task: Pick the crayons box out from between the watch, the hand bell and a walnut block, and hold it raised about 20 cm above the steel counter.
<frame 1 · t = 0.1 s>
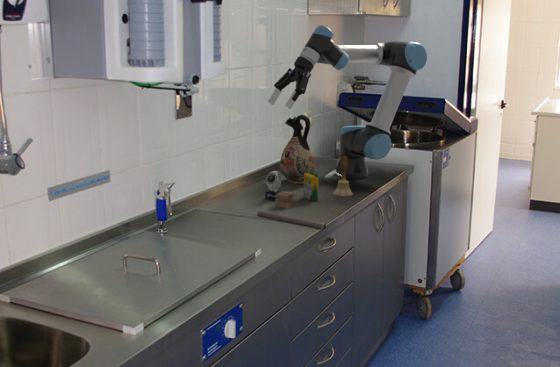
hand: (278, 105, 262), 36 cm above the worktop, tool tilted 35°, fingers open, 13 cm apart
watch: (274, 199, 262), on the worktop
metal rod: (290, 223, 232), on the worktop
ceramic jug: (298, 182, 290), on the worktop
hand bell: (342, 194, 271), on the worktop
walnut block: (284, 206, 251), on the worktop
crayon box: (310, 199, 262), on the worktop
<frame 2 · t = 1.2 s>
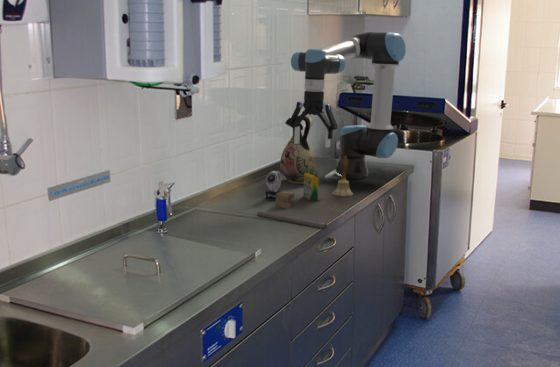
hand: (312, 145, 257), 22 cm above the worktop, tool pointing down, fingers open, 13 cm apart
nothing on the worktop moved.
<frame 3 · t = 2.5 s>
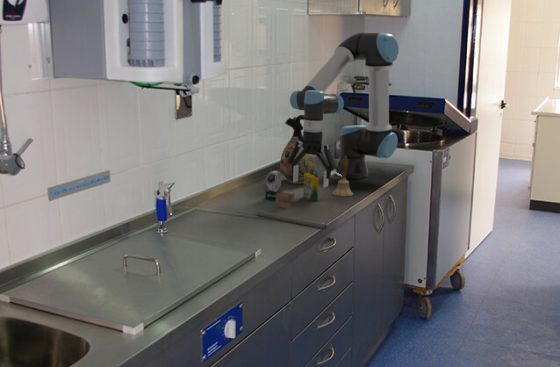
hand: (310, 184, 261), 6 cm above the worktop, tool pointing down, fingers open, 13 cm apart
nothing on the worktop moved.
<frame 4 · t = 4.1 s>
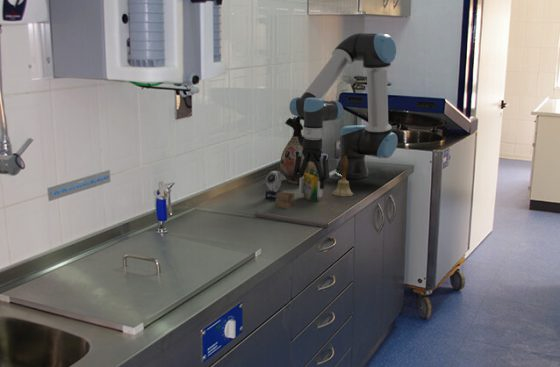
hand: (310, 194, 262), 2 cm above the worktop, tool pointing down, fingers closed on crayon box, 7 cm apart
crayon box: (310, 199, 262), on the worktop, touching gripper
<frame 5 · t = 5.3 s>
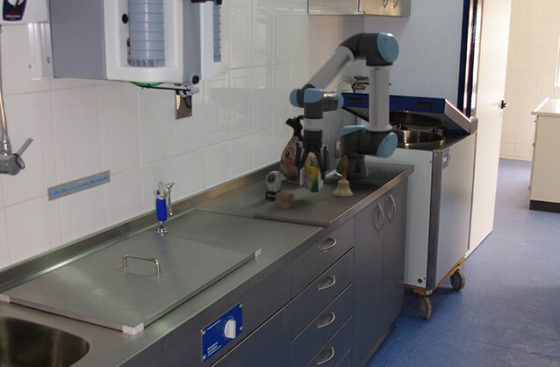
hand: (311, 186, 261), 5 cm above the worktop, tool pointing down, fingers closed on crayon box, 7 cm apart
crayon box: (311, 190, 262), point 3 cm above the worktop, touching gripper
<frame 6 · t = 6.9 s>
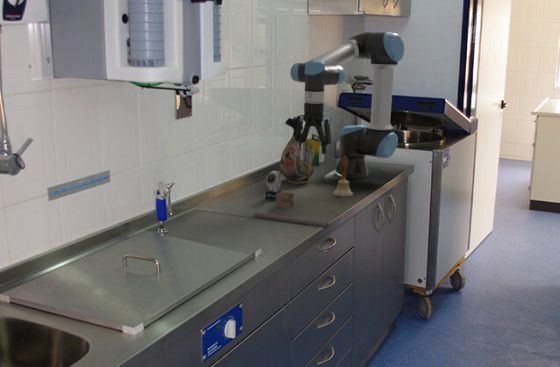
hand: (312, 160, 259), 16 cm above the worktop, tool pointing down, fingers closed on crayon box, 7 cm apart
crayon box: (312, 165, 259), point 14 cm above the worktop, touching gripper
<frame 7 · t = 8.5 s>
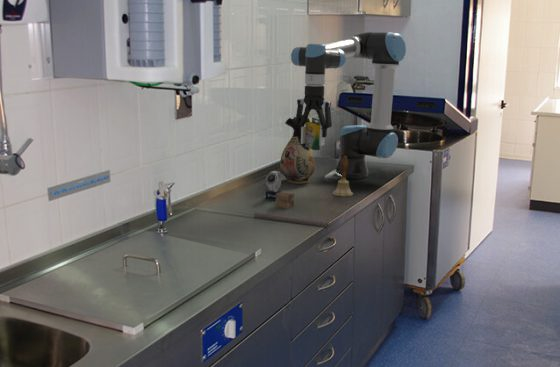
hand: (312, 144, 257), 22 cm above the worktop, tool pointing down, fingers closed on crayon box, 7 cm apart
crayon box: (312, 148, 258), point 20 cm above the worktop, touching gripper
everything else where it was.
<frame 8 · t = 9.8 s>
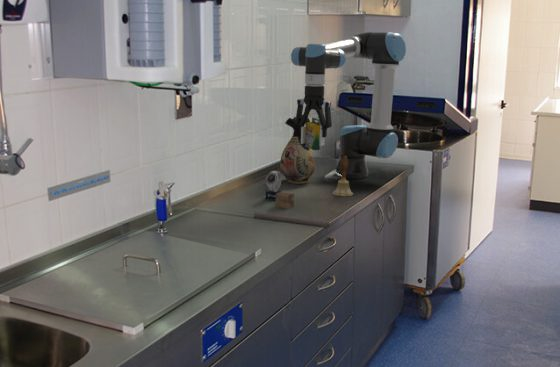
hand: (312, 144, 257), 22 cm above the worktop, tool pointing down, fingers closed on crayon box, 7 cm apart
crayon box: (312, 148, 258), point 20 cm above the worktop, touching gripper
everything else where it was.
at the end: the gripper is holding crayon box; crayon box point 20.2 cm above the worktop; watch moved 0.2 cm from its start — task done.
